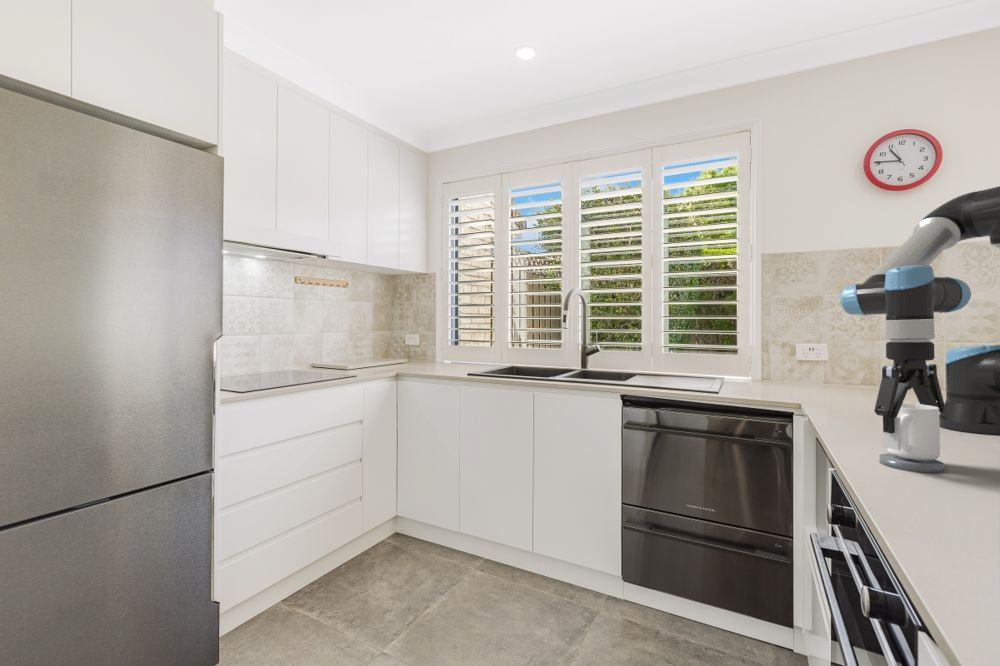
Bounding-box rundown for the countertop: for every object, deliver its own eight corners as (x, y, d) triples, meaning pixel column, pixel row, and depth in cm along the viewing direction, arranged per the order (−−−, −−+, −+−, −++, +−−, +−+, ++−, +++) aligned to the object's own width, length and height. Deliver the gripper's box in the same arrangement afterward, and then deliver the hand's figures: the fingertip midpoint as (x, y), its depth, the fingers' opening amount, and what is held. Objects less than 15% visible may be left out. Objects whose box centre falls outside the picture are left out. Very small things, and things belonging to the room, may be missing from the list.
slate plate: (897, 456, 102) (897, 451, 102) (955, 469, 93) (955, 463, 93) (868, 461, 99) (868, 456, 99) (925, 475, 89) (925, 469, 89)
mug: (930, 466, 89) (929, 413, 89) (876, 457, 95) (875, 407, 95) (944, 455, 96) (943, 406, 96) (893, 447, 103) (892, 401, 102)
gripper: (922, 339, 103) (923, 436, 103) (851, 342, 95) (853, 447, 95) (966, 339, 96) (967, 443, 96) (893, 342, 88) (895, 456, 88)
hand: (910, 445), depth 96 cm, fingers closed on mug, 11 cm apart
